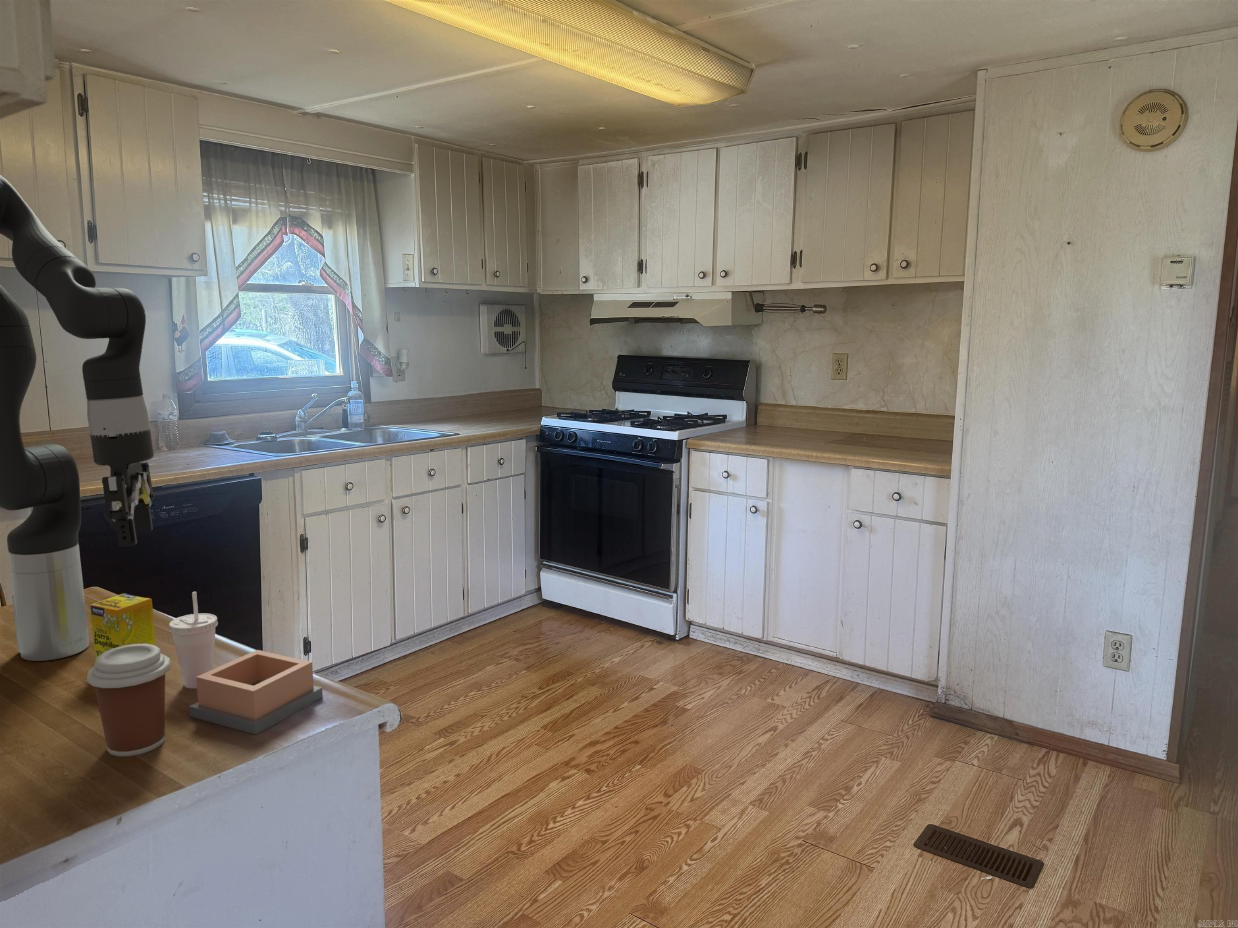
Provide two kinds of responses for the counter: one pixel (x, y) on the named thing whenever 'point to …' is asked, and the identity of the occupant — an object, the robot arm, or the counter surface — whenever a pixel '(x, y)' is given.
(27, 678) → the counter surface
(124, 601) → the supplement box
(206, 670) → the smoothie
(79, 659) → the counter surface
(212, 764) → the counter surface
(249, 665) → the socket
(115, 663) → the coffee cup
